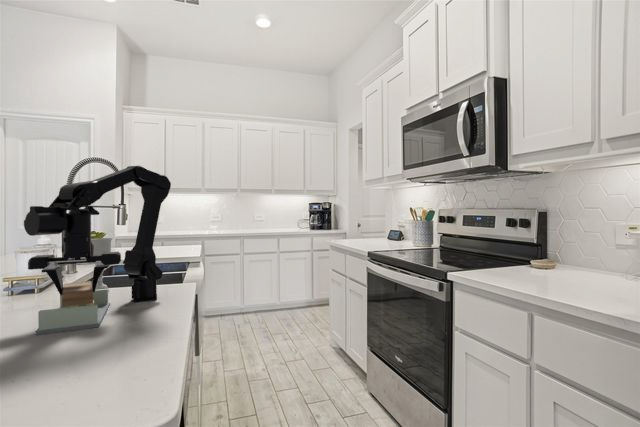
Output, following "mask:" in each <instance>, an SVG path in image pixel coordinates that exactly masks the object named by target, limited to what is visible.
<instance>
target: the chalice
mask: <svg viewBox="0 0 640 427" xmlns="http://www.w3.org/2000/svg"><path fill="white" fill-rule="evenodd" d="M112 240H113V238H112V237H111V238H110V237H100V238H91V242H92V243H93V245H94V256H96V255H102V253H104V252H112ZM94 265H95V266H96V265H97V264H96V262H95V263H94ZM103 273H104V271H103V272H102V274H101V276H100V278H99V281H98V284H97V287H96V290H98V289H108V293H109V292H110V290H109V287H108V285H107V284H104V282H103V279H104V276H103Z"/></svg>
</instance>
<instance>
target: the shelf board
mask: <svg viewBox="0 0 640 427" xmlns="http://www.w3.org/2000/svg"><path fill="white" fill-rule="evenodd" d="M92 284H93V282H92V280H88V281H78V282H69V283H63V293H62V307H68V306H75V305H83V304H90V303H93V288H92Z"/></svg>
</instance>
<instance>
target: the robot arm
mask: <svg viewBox="0 0 640 427" xmlns="http://www.w3.org/2000/svg"><path fill="white" fill-rule="evenodd" d="M132 182H133V183H134V184H135V185H136V186H138V187H140V193H141V196H142V199H143V204H142V210H141V215H140V220H139V223H138V229H137V235H136V239H135V245H134V246H133V247H132V248H131V249H130V250H128V249H127V250H125V253H124V260H123V261H122V255H121V253H120V251H111V252H104V253H102V255H96V256H94V245H93V243H92V242H91V239H92V220H91V219H92V216H98V215H100V212H99V211H98V210H97V209H95V208H94V207H93V206H94V205H93V204H94V203H96V202H97V201H98V200H100V199H101V198H102V197H103V195H105V194H106V193H108V192H110V191H113V190H115V189H118V188H121V187H122V186H125V185H128V184H130V183H132ZM171 185H172V183H171V181H170V179H169V178H168V176H166V175H163V174H159V173H158V172H155V171H151V170H150V169H147V168H145V167H143V166H141V165H129V166H127V167H126V168H122V169H120V170H117V171H115V172H112V173H109V174H106V175H104V176H102V177H98V178H96V179H93V180H88V181H81V182H75V183H68V184H64V185H62V186H61V187H60V188H59V190H58V195H57V196H56V198H54V200H53V201H52V202H51V203H50V205H49V206H41V205H40V206H39V205H32V206H29V211H28V212H27V213H26V215H25V219H24V220H23V227H24V230H25V233H26V234H27V235H29V236H30V237H31V236H32V237H33V236H45V235H46V236H47V235H49V236H50V235H60V234H62V233H63V239H62V246H61V253H62V255H63V256H61V257H60V256H59V257H55V254H38V255H35V256H32V257H30V258H29V259H28V260H27V261H28V262H27V270H28V271H29V270H41V273H46V274H47V275H48V277H49V278H50V279H51V281H52V283H53V284H54V285H55V287H56V290H57V291H58V293H59V296H60V295H62V293H63V288H64V282H63V281H64V280H63V274H62V273H63V265H72V264H75V265H77V264H89V263H90V264H91V263H94V264H95V262H96V264H97V265H95V266H94V267H93V275H92V288H93V292H95V290H96V287H97V285H98V284H99V278H100V276H101V274H102V272H103V273H104V270H105V269H108V268H109V267H110V266H112V265H120V263H121V261H122V264H123V270H124V271H125V272H126V273H127V276H128V279H129V280H133V283H132V284H131V299H132V302H133V303H134V302H135V303H136V302H143V301H144V302H145V301H154V300H157V299H158V293H157V292H158V289H157V285H158V284H157V281H158V280H160V279H162V277H163V274H164V272H163V270H162V269H160V267H159V266H158V265H157V264H156V259H157V258H156V256H157V255H156V254H155V250H154V248H153V246H154V242H155V235H156V232H157V225H158V221H159V217H160V216H159V215H160V211H161V206H162V203H163V202H164V201H165V199H167V197H168V196H169V194H170V191H171V187H172V186H171ZM92 205H93V206H92ZM82 207H84V208H82ZM67 211H69V212H67ZM102 275H103V274H102Z"/></svg>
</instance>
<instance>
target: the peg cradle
mask: <svg viewBox="0 0 640 427" xmlns="http://www.w3.org/2000/svg"><path fill="white" fill-rule="evenodd" d="M108 290H109V288H108V289H98V290H95V292H93V303H90V304H83V305H75V306H68V307H62V295H60V294H59V308H51V309H42V310H39V311H37V313H38V327H37V329H36V330H35V331H34V332H35V335H36V336H38V335H44V334H45V335H46V334H52V333H53V334H54V333H61V332H69V331H77V330H78V331H79V330H85V329H86V330H87V329H93V328H100V326H101V325H102V323H103V320H104V318H105V317H106V315H107V313H106V312H108V311H107V310H109V309H110V307H111V302H109V292H108ZM109 306H110V307H109ZM108 308H109V309H108ZM105 314H106V315H105ZM104 316H105V317H104ZM35 335H34V336H35Z"/></svg>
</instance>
